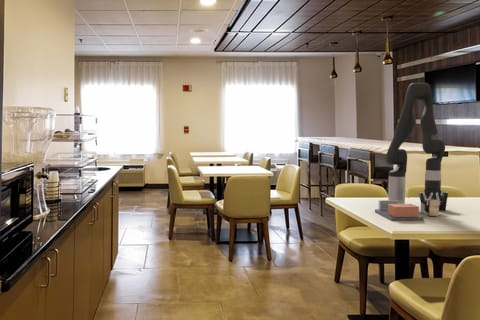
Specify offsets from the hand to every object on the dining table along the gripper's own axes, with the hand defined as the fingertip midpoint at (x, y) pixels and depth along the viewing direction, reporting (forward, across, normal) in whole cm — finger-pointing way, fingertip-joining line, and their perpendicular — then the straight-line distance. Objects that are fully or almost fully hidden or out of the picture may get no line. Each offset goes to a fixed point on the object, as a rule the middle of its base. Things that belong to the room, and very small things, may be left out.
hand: (432, 211), depth 224 cm
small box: (+3, -3, -11) cm, 11 cm away
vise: (+2, +17, -2) cm, 17 cm away
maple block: (+1, 0, 0) cm, 1 cm away
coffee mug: (+3, -14, -19) cm, 24 cm away
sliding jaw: (+1, +17, +4) cm, 18 cm away
